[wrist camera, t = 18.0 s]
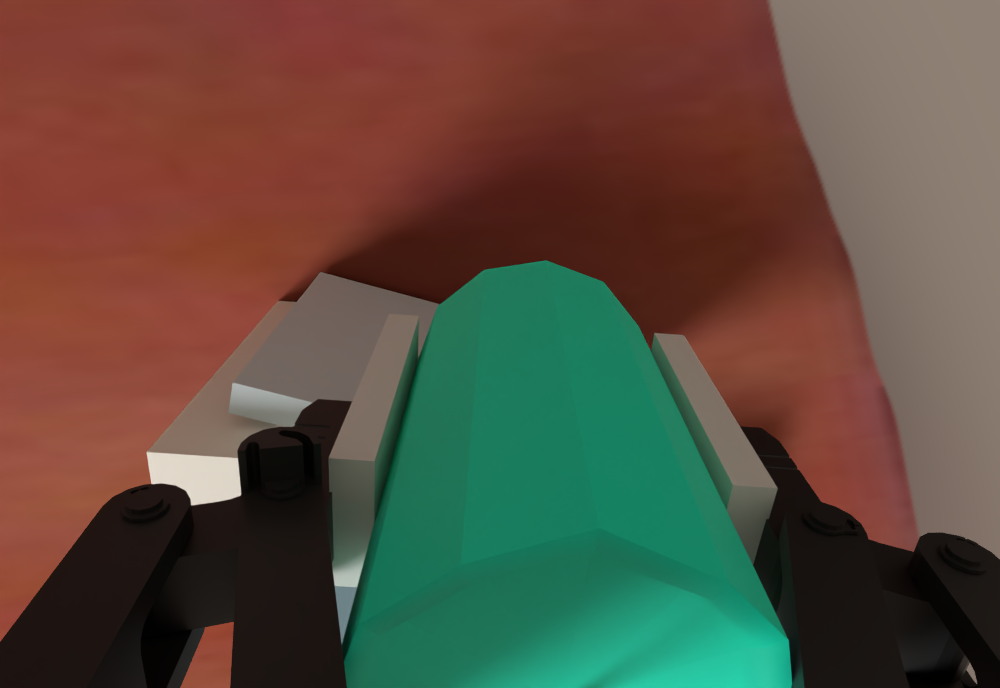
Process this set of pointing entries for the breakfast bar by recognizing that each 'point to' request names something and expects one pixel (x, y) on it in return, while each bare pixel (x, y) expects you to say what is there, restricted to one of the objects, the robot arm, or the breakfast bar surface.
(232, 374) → the door frame
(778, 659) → the candle
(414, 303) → the door
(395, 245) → the breakfast bar surface
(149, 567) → the robot arm
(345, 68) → the breakfast bar surface
